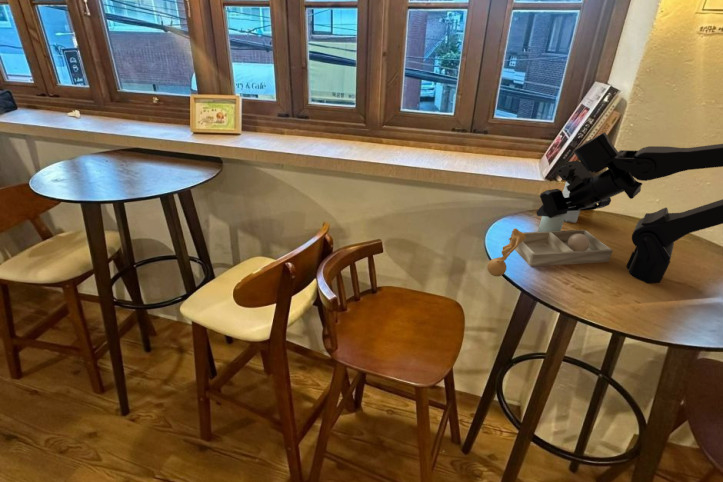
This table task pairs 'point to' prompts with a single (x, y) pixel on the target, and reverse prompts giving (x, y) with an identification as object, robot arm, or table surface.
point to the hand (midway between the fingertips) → (550, 211)
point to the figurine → (505, 254)
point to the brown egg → (578, 242)
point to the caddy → (560, 249)
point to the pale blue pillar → (551, 223)
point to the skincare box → (570, 215)
